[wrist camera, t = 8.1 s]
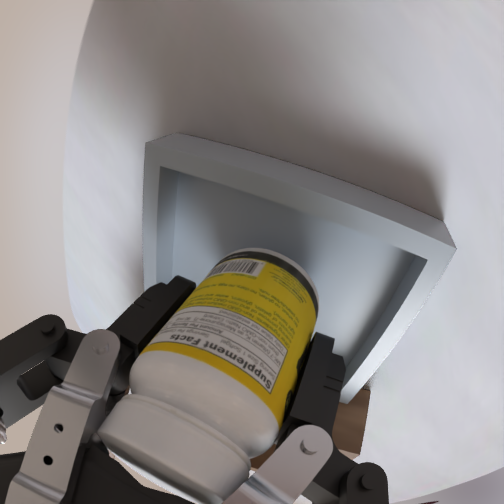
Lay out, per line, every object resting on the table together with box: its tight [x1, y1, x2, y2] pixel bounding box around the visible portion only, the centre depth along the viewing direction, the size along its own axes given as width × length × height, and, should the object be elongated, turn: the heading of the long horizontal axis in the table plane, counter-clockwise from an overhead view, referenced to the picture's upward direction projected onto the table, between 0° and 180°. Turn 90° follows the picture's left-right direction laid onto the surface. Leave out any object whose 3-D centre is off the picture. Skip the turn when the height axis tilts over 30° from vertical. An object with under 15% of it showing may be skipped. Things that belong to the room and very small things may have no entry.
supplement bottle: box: [97, 248, 319, 504], centre depth 9 cm, size 5×5×8 cm
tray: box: [143, 133, 457, 404], centre depth 14 cm, size 10×12×2 cm
